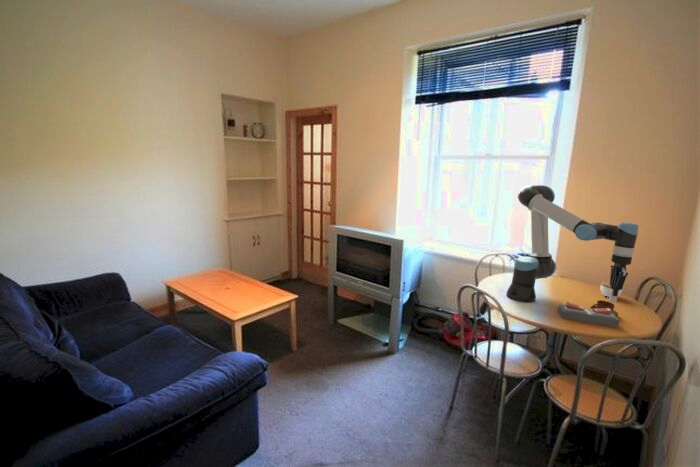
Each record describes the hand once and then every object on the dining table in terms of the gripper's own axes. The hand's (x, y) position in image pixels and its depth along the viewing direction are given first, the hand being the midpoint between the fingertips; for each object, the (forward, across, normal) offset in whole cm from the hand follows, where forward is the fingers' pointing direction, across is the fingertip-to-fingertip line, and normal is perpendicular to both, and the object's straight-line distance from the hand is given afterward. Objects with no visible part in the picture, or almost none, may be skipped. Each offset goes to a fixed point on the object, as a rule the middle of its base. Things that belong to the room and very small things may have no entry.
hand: (612, 301), depth 167 cm
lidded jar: (+11, +45, -16) cm, 49 cm away
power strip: (+11, 0, +9) cm, 15 cm away
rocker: (+6, 0, +15) cm, 16 cm away
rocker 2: (+6, 0, +3) cm, 7 cm away
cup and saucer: (+12, +13, -2) cm, 17 cm away
